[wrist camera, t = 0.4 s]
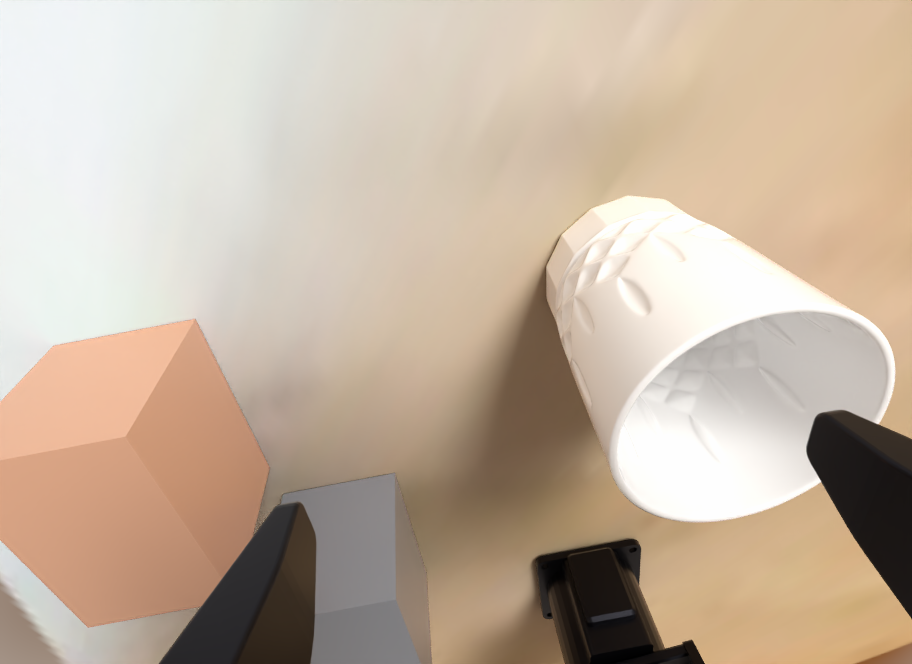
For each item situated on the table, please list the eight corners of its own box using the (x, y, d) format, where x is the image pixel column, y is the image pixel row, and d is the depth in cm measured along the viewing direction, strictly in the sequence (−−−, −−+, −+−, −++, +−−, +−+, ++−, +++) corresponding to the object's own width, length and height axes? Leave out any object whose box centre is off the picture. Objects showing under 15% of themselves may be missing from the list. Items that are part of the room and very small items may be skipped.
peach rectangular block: (269, 468, 27) (236, 599, 21) (153, 490, 27) (88, 627, 21) (195, 319, 22) (125, 436, 16) (53, 345, 22) (-68, 473, 16)
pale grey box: (426, 572, 33) (434, 697, 27) (331, 590, 33) (318, 719, 27) (394, 472, 28) (395, 599, 22) (282, 494, 28) (254, 626, 22)
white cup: (553, 367, 26) (631, 551, 17) (509, 219, 21) (585, 367, 13) (716, 313, 25) (880, 478, 17) (704, 150, 21) (916, 259, 12)
